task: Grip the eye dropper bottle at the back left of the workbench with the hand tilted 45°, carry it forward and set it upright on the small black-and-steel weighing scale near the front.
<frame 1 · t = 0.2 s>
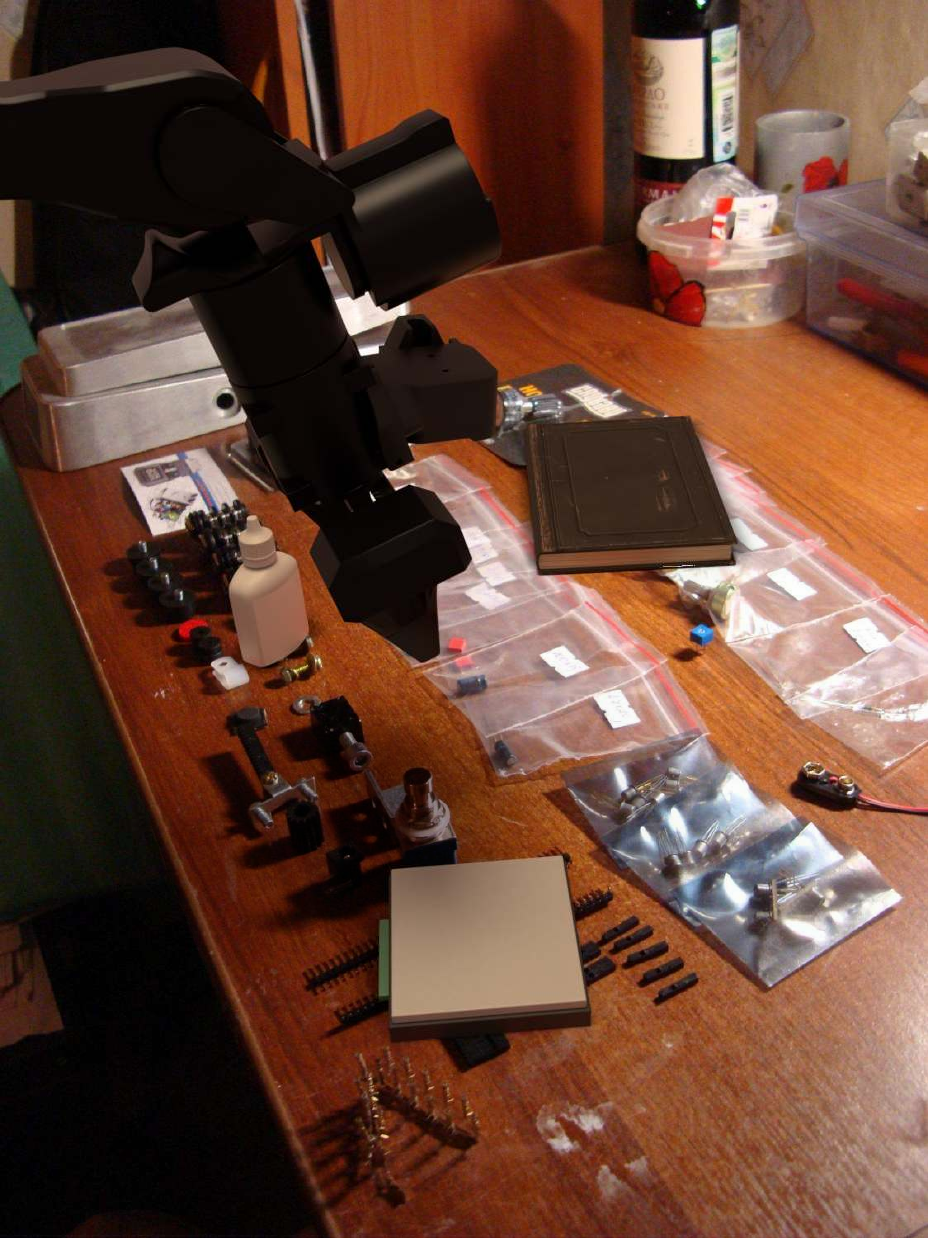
hand: (401, 609, 61), 17 cm above the table, tool pointing down, fingers open, 9 cm apart
hardcover book: (619, 501, 102), on the table
eye dropper bottle: (279, 658, 86), on the table
kitchen scale: (485, 967, 62), on the table
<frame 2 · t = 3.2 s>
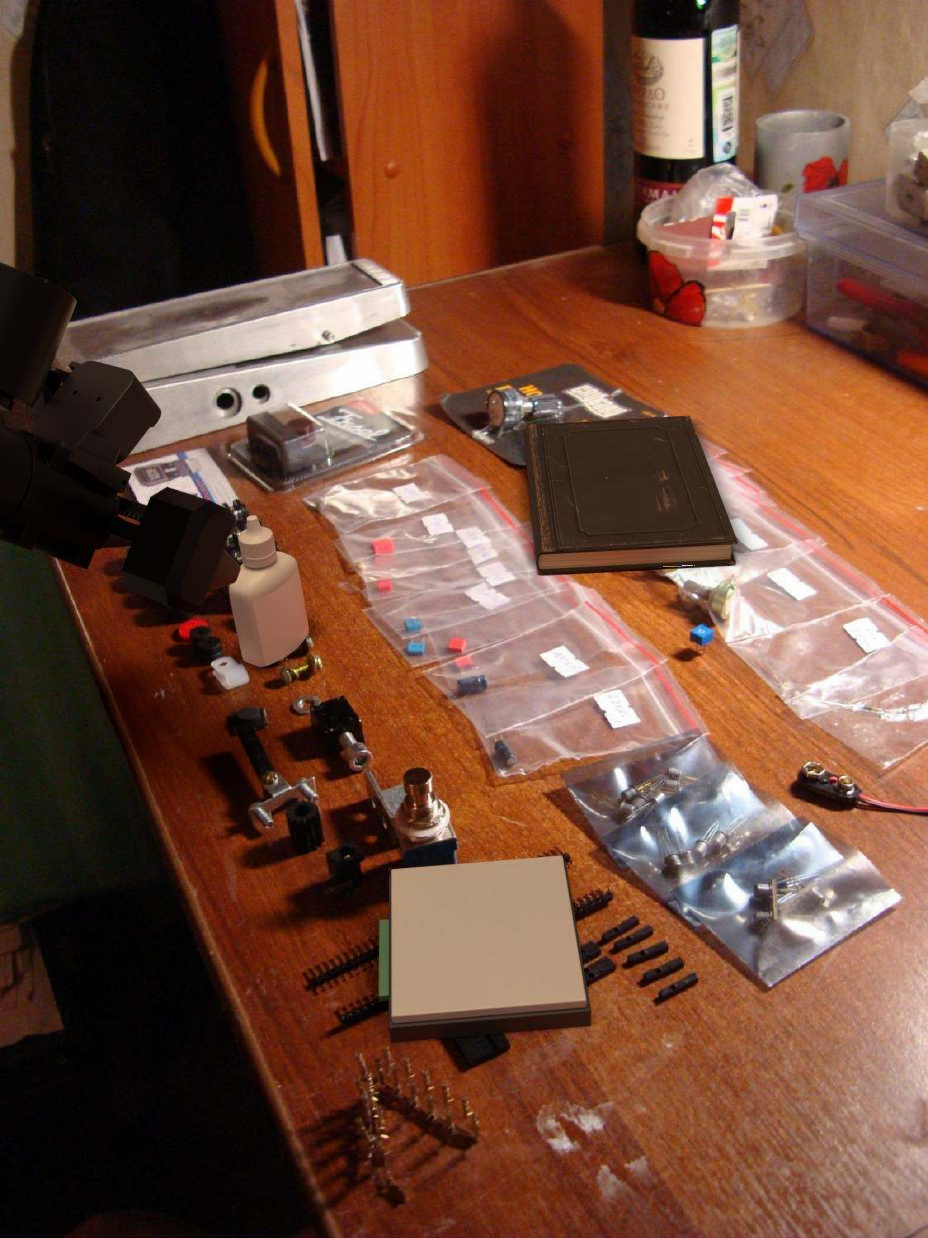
hand: (184, 555, 75), 12 cm above the table, tool tilted 45°, fingers open, 9 cm apart
nothing on the table moved.
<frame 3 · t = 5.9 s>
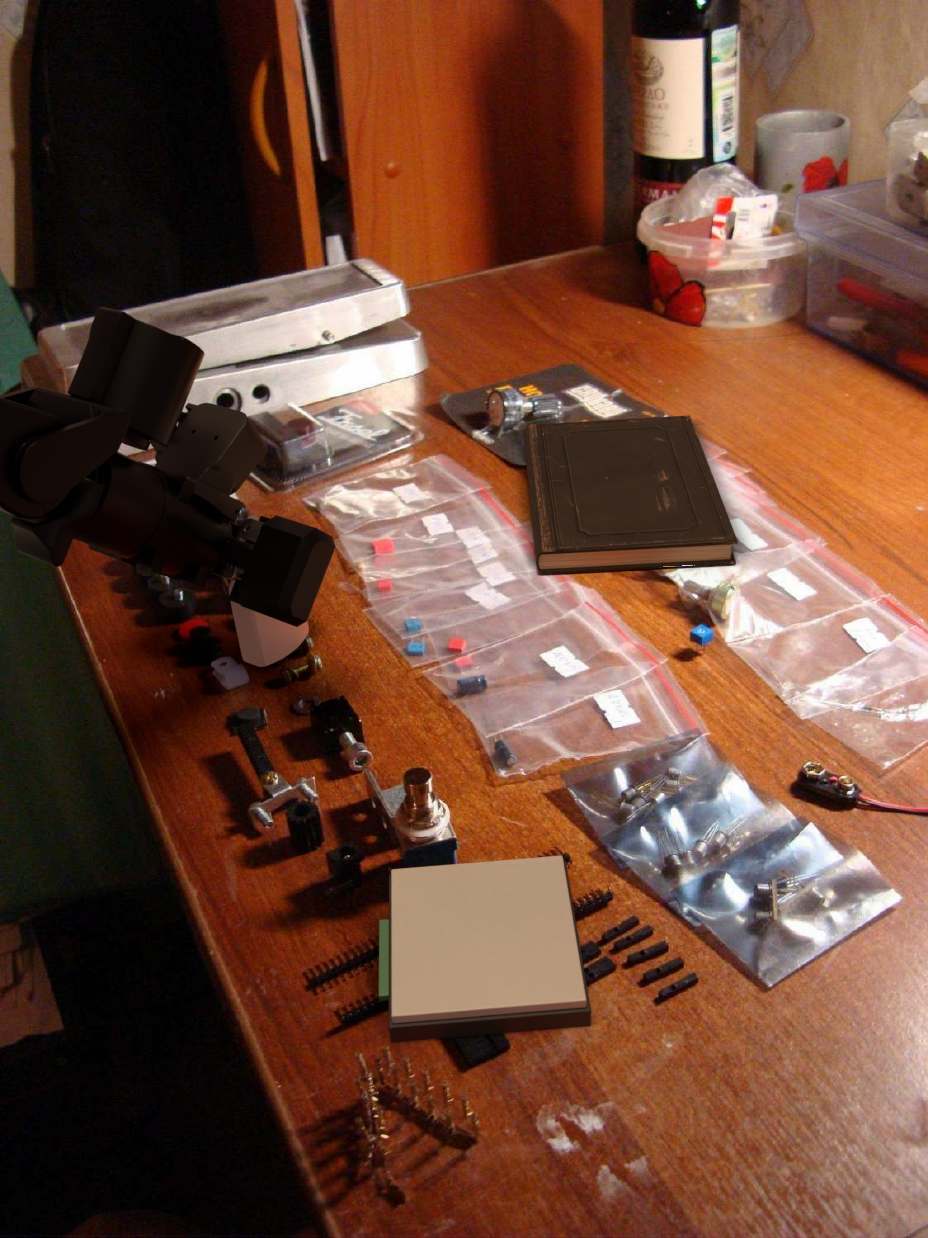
hand: (277, 574, 83), 7 cm above the table, tool tilted 45°, fingers closed on eye dropper bottle, 3 cm apart
eye dropper bottle: (279, 658, 86), on the table, touching gripper
everything else where it was.
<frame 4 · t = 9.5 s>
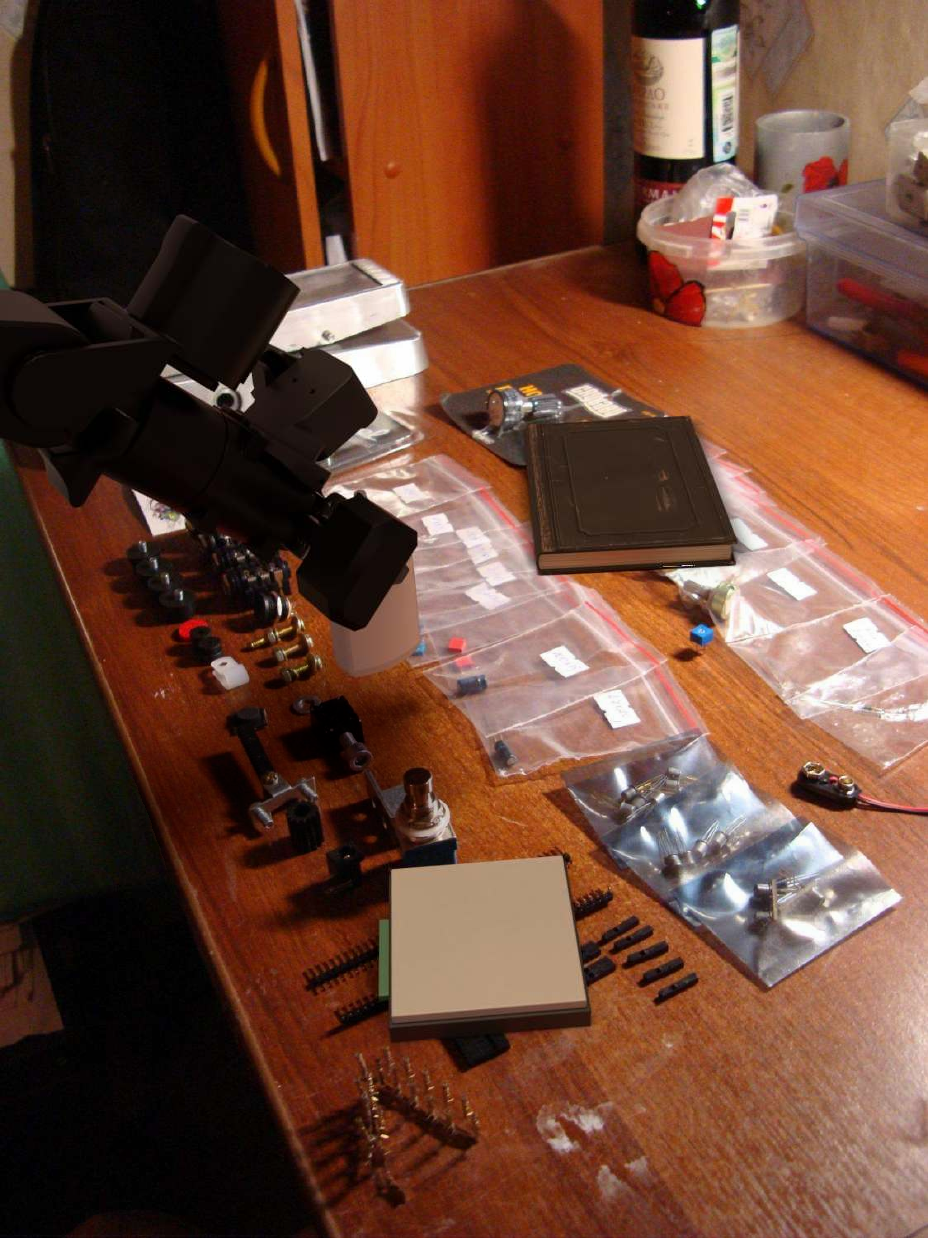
hand: (387, 563, 71), 13 cm above the table, tool tilted 45°, fingers closed on eye dropper bottle, 3 cm apart
eye dropper bottle: (379, 658, 74), point 6 cm above the table, touching gripper
everything else where it was.
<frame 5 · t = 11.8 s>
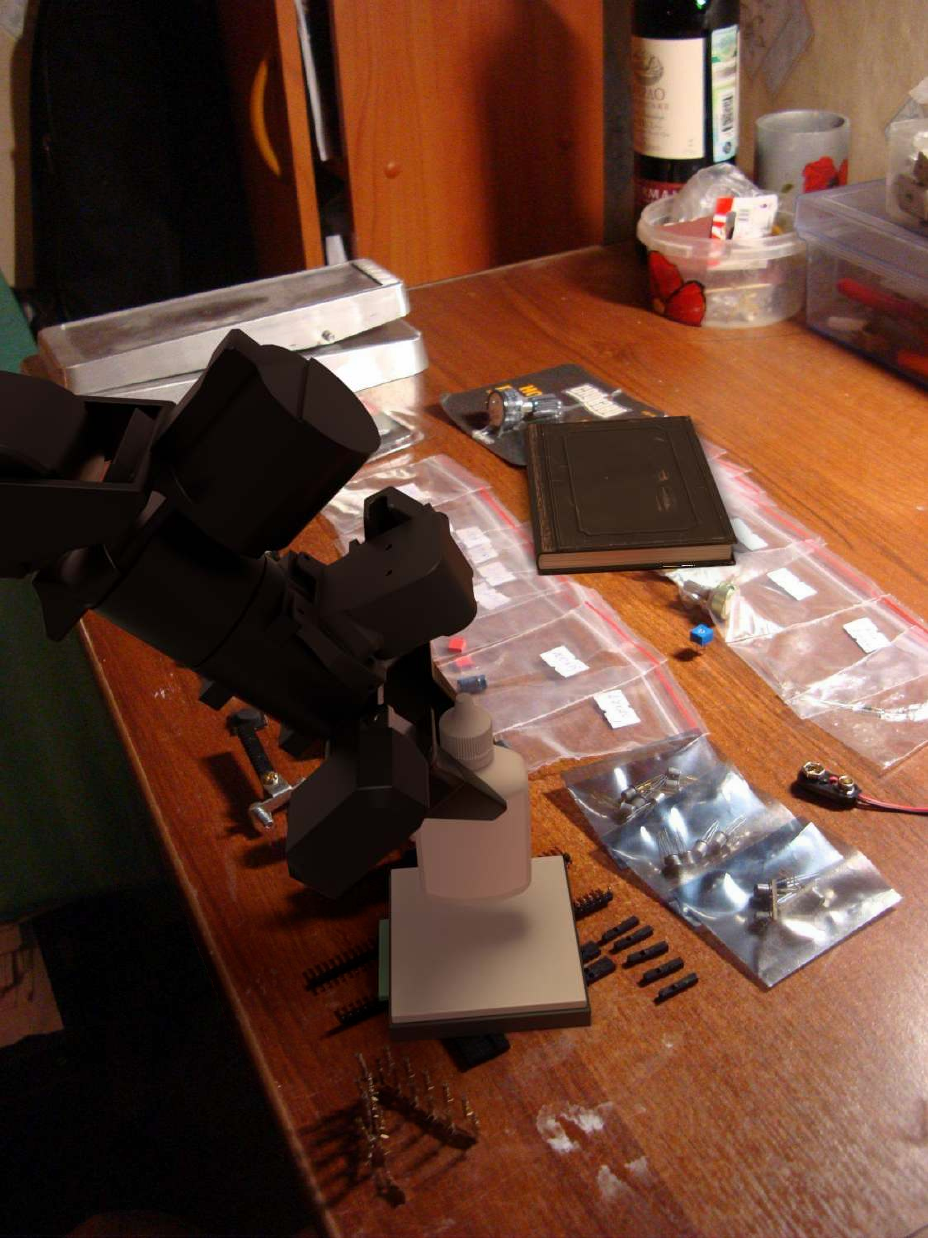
hand: (497, 784, 54), 13 cm above the table, tool tilted 45°, fingers closed on eye dropper bottle, 3 cm apart
eye dropper bottle: (475, 884, 58), point 6 cm above the table, touching gripper
everything else where it was.
when the fingers open (10 cm above the table, at t = 13.4 s): eye dropper bottle stays where it is, resting on kitchen scale.
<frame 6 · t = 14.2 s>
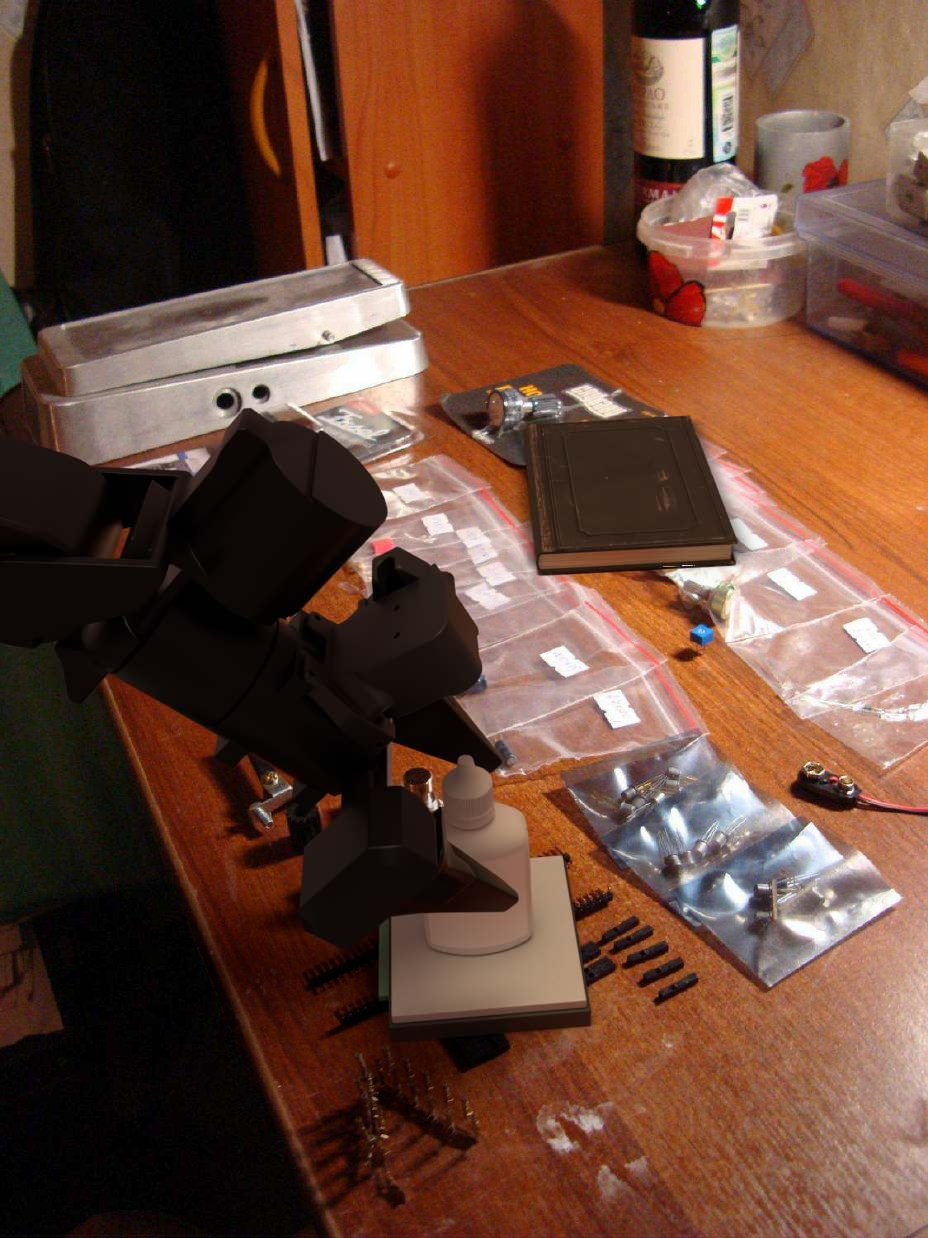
hand: (504, 830, 56), 10 cm above the table, tool tilted 45°, fingers open, 9 cm apart
eye dropper bottle: (478, 932, 60), point 3 cm above the table, touching kitchen scale
everything else where it was.
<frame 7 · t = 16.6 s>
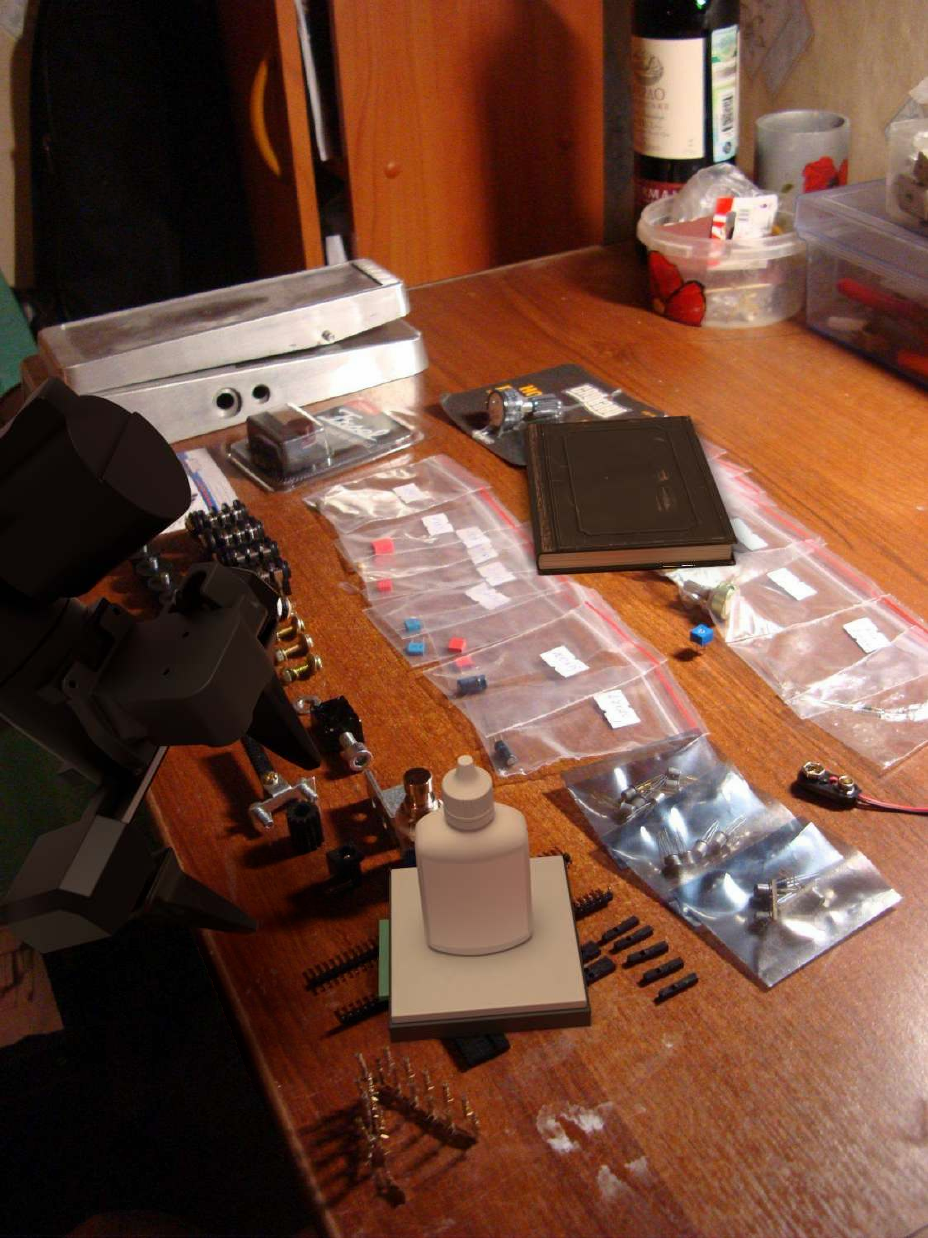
hand: (285, 843, 55), 11 cm above the table, tool tilted 35°, fingers open, 9 cm apart
nothing on the table moved.
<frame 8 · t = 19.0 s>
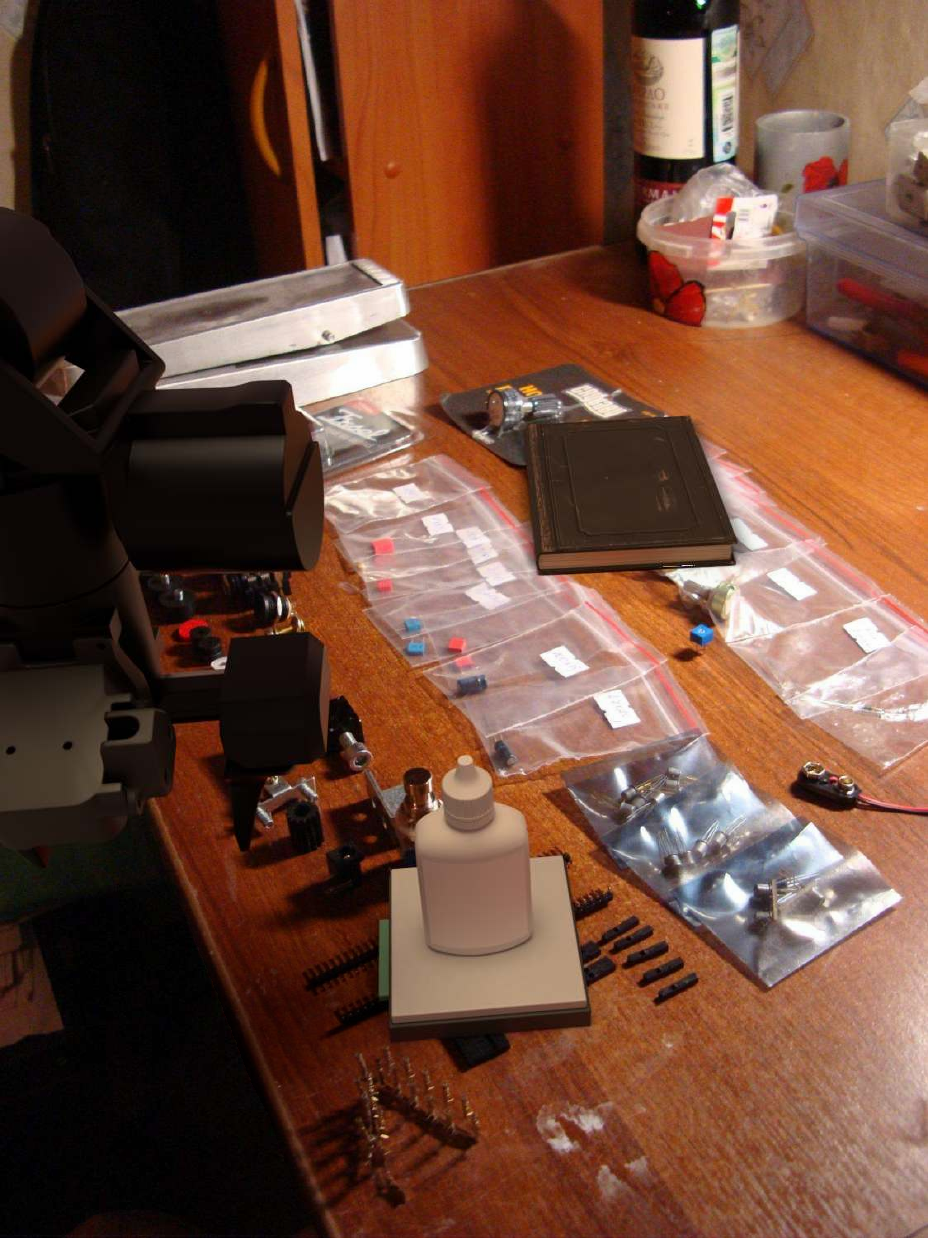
hand: (145, 853, 52), 13 cm above the table, tool pointing down, fingers open, 9 cm apart
nothing on the table moved.
at the end: eye dropper bottle inside the target area on the kitchen scale (0.2 cm from its centre), point 2.8 cm above the kitchen scale's base; eye dropper bottle tilted 0°; the gripper is holding nothing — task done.
